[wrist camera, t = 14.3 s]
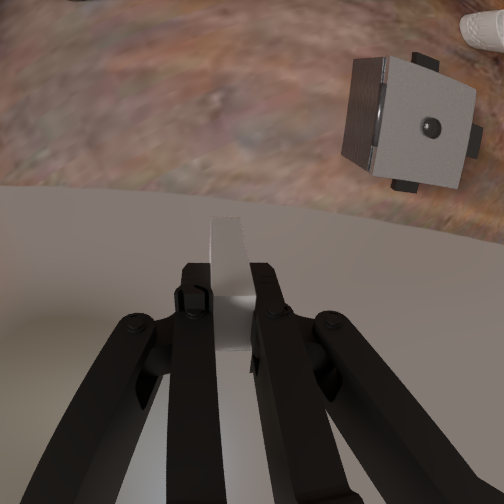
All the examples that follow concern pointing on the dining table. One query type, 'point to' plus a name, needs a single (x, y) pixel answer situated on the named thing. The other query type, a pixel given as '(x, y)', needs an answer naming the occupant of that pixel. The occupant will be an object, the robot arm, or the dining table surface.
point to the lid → (423, 126)
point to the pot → (371, 112)
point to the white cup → (484, 30)
